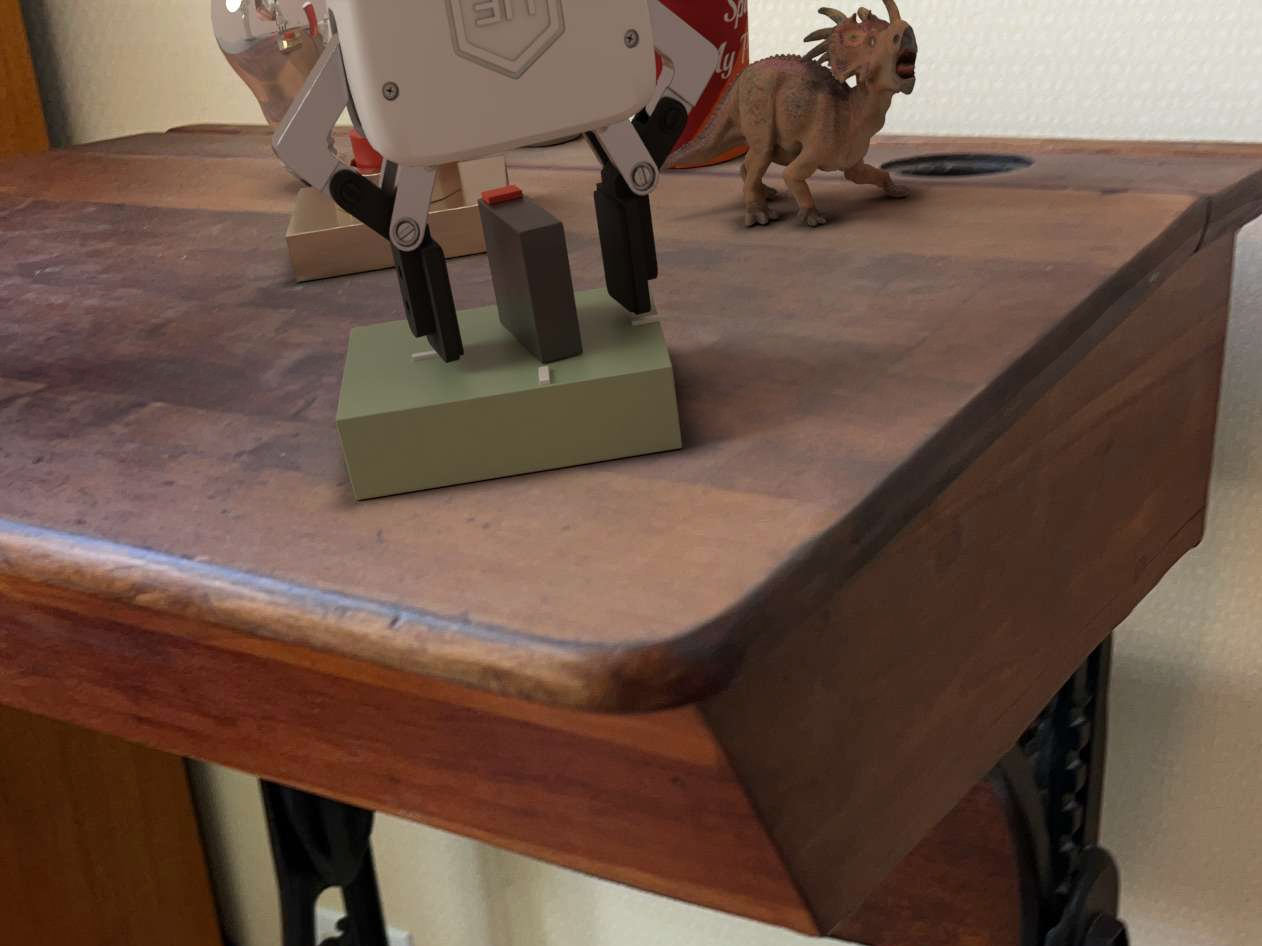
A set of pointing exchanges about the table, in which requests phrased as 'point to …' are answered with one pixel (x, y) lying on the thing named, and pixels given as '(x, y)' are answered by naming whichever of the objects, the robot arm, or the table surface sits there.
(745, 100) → the dinosaur figurine
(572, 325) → the block
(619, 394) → the control panel
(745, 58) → the coffee cup
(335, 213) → the button block
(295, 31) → the light bulb
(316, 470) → the table surface
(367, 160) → the red button
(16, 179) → the table surface
